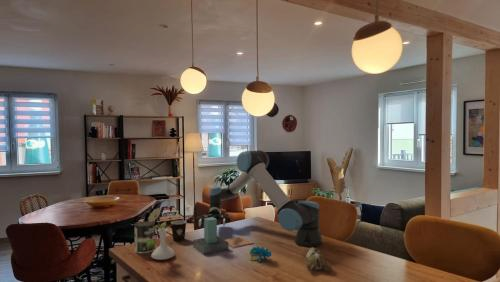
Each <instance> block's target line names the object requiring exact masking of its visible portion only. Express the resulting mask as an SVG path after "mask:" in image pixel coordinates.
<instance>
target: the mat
mask: <svg viewBox="0 0 500 282" xmlns="http://www.w3.org/2000/svg"><path fill="white" fill-rule="evenodd" d="M224 240H225V241H227V242H229V247H231V248H232V249H235V248H238V247H244V246H248V245H252V244H253V245H254V242H253V241H251V240H249V239H247V238H245V237H243V236H242V235H241V236H237V237H231V238H227V239H224Z"/></svg>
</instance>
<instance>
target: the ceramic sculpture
mask: <svg viewBox="0 0 500 282" xmlns="http://www.w3.org/2000/svg"><path fill="white" fill-rule="evenodd" d="M305 260H306V261H307V262H306V269H307V271H309V272H313V271H315V270H316V271H318V270H325V271H327V272H328V271H329V272H331V271H332V266H331V263H329V261H327V260H325V257H324V256H323V254H322V253H321V252H320V250H319V249H316V248H315V247H310V249H309V250H308V251H307V254H306V255H305Z"/></svg>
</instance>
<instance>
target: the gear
mask: <svg viewBox="0 0 500 282" xmlns="http://www.w3.org/2000/svg"><path fill="white" fill-rule="evenodd" d="M249 255H250V256H251V257H250V261H253V257H255V258H256V257H258V263H261V261H262V258H264V259H266V258H270V257H272V251H270V250H269V248H265V247H263V246H261V247H260V246H256V247H255V246H253V247H252V248H251V249H250V250H249Z"/></svg>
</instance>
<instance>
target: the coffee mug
mask: <svg viewBox="0 0 500 282" xmlns="http://www.w3.org/2000/svg"><path fill="white" fill-rule="evenodd" d="M167 227H169V228H170V229H171V233H170V232H169V231H167V232H166V234H168V235H170V236H172V241H174V242H183V241H185V239H186V238H185V237H186V228H187V221H186V220H179V219H178V220H173V221H170V225H166V226H165V227H164V228H165V229H167Z"/></svg>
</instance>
